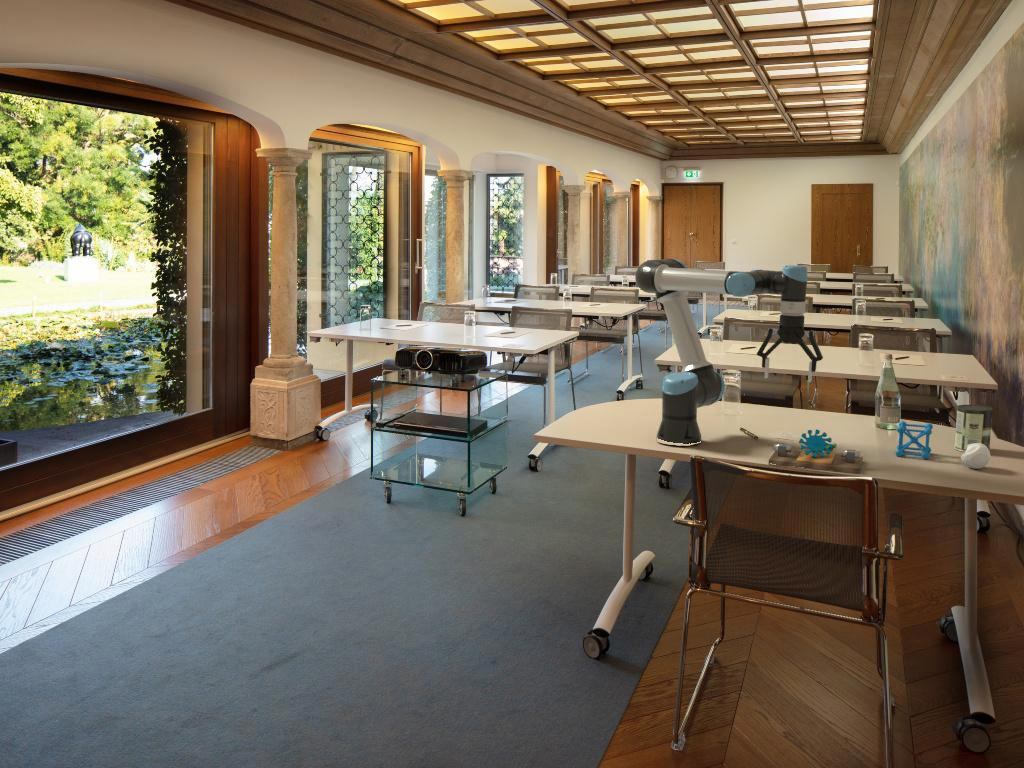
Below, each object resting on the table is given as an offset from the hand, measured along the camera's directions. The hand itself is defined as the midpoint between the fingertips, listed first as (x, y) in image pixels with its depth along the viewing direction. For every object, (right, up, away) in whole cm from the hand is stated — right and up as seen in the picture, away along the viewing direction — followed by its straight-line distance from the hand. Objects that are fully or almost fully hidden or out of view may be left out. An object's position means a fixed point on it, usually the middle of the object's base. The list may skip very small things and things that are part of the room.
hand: (787, 379), depth 278 cm
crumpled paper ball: (+50, -27, -20) cm, 60 cm away
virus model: (+6, -24, -11) cm, 27 cm away
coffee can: (+60, -23, +1) cm, 64 cm away
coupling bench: (+5, -26, -12) cm, 29 cm away
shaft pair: (+5, -24, -12) cm, 28 cm away
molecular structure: (+39, -24, -4) cm, 46 cm away
